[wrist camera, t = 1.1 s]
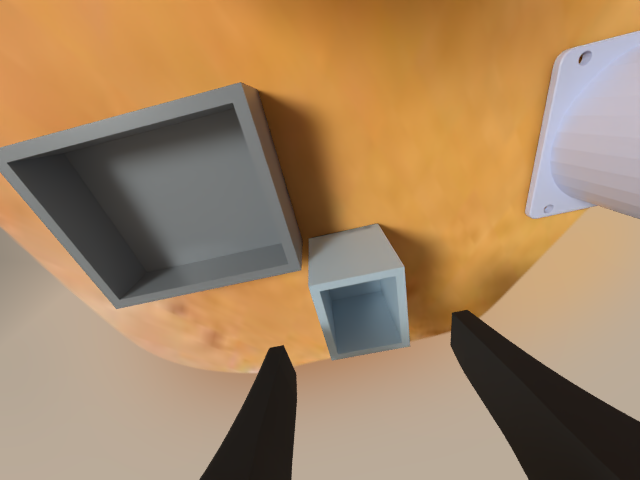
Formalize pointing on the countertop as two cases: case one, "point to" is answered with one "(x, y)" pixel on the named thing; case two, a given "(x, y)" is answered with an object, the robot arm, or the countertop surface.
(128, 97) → the countertop surface
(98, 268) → the box
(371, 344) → the small crate
